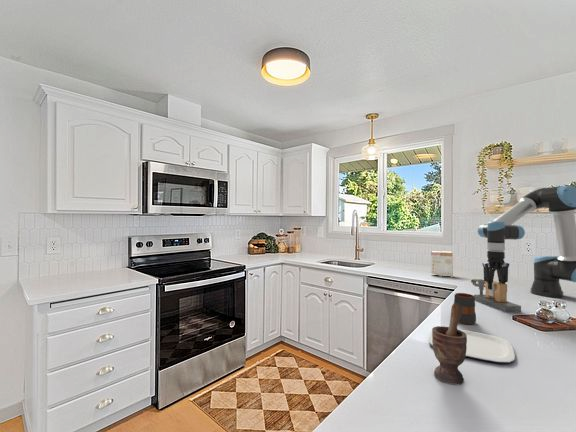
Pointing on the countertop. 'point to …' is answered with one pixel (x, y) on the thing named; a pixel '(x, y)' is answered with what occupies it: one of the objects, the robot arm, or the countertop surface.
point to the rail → (498, 304)
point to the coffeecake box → (442, 263)
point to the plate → (487, 347)
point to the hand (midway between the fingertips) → (495, 295)
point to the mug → (466, 308)
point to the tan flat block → (497, 292)
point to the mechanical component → (479, 284)
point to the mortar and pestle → (450, 348)
